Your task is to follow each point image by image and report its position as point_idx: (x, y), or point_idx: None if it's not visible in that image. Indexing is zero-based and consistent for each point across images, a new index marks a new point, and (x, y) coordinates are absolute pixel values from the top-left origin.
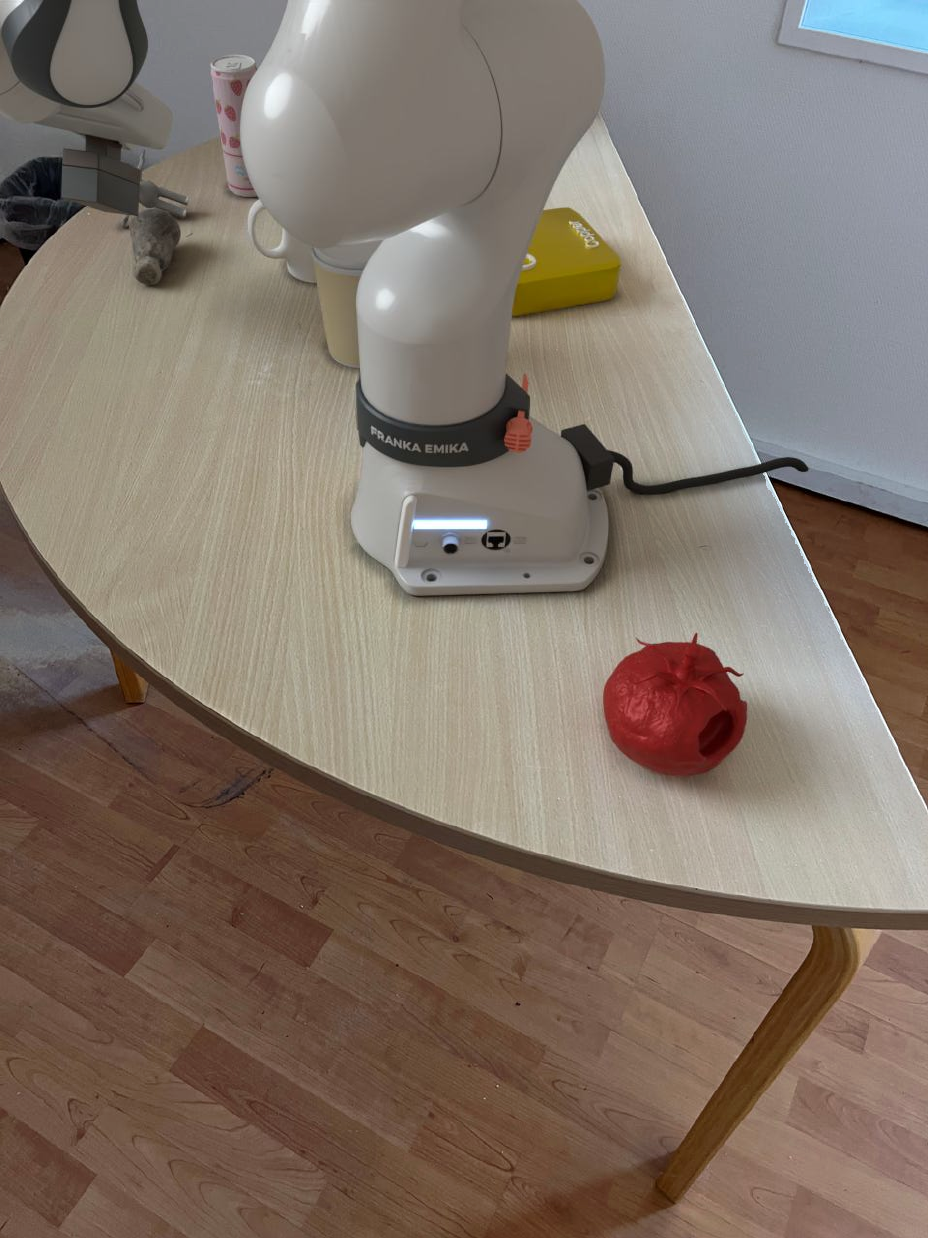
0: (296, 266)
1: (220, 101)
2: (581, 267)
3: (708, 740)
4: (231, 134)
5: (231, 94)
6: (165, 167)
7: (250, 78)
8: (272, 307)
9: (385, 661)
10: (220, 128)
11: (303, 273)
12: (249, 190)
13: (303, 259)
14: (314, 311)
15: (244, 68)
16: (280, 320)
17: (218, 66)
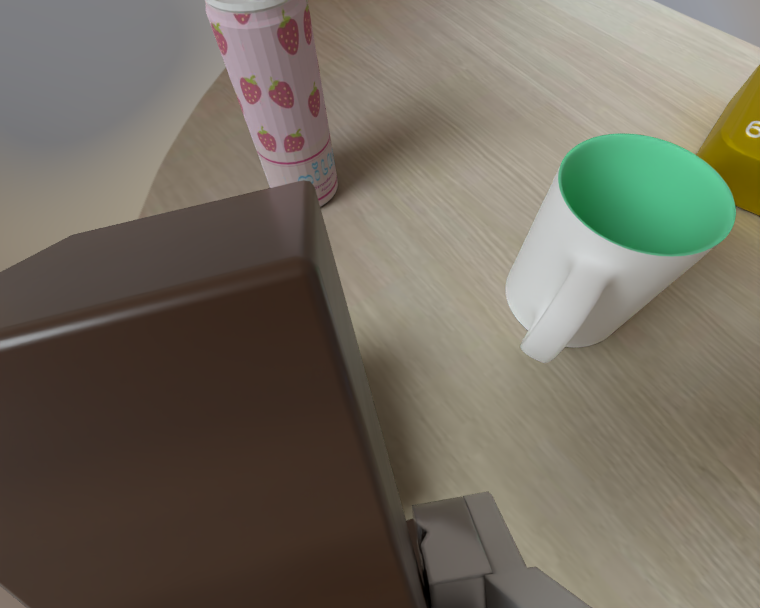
0: (578, 338)
1: (257, 79)
2: None
3: None
4: (288, 132)
5: (281, 57)
6: (148, 205)
7: (306, 7)
8: (616, 448)
9: None
10: (258, 127)
11: (587, 341)
12: (322, 199)
13: (604, 329)
14: (679, 415)
15: None
16: (666, 477)
17: (229, 1)
